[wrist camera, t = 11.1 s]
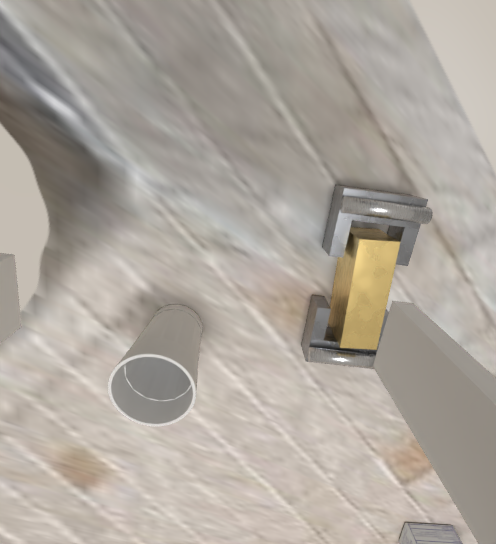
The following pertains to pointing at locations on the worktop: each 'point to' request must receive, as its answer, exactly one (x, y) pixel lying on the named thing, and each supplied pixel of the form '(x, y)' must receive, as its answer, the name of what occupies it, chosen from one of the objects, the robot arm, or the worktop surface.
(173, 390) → the cup
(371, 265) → the gold rectangular block
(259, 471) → the worktop surface
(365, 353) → the chain end
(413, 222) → the bracket
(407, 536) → the medicine box
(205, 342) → the worktop surface
